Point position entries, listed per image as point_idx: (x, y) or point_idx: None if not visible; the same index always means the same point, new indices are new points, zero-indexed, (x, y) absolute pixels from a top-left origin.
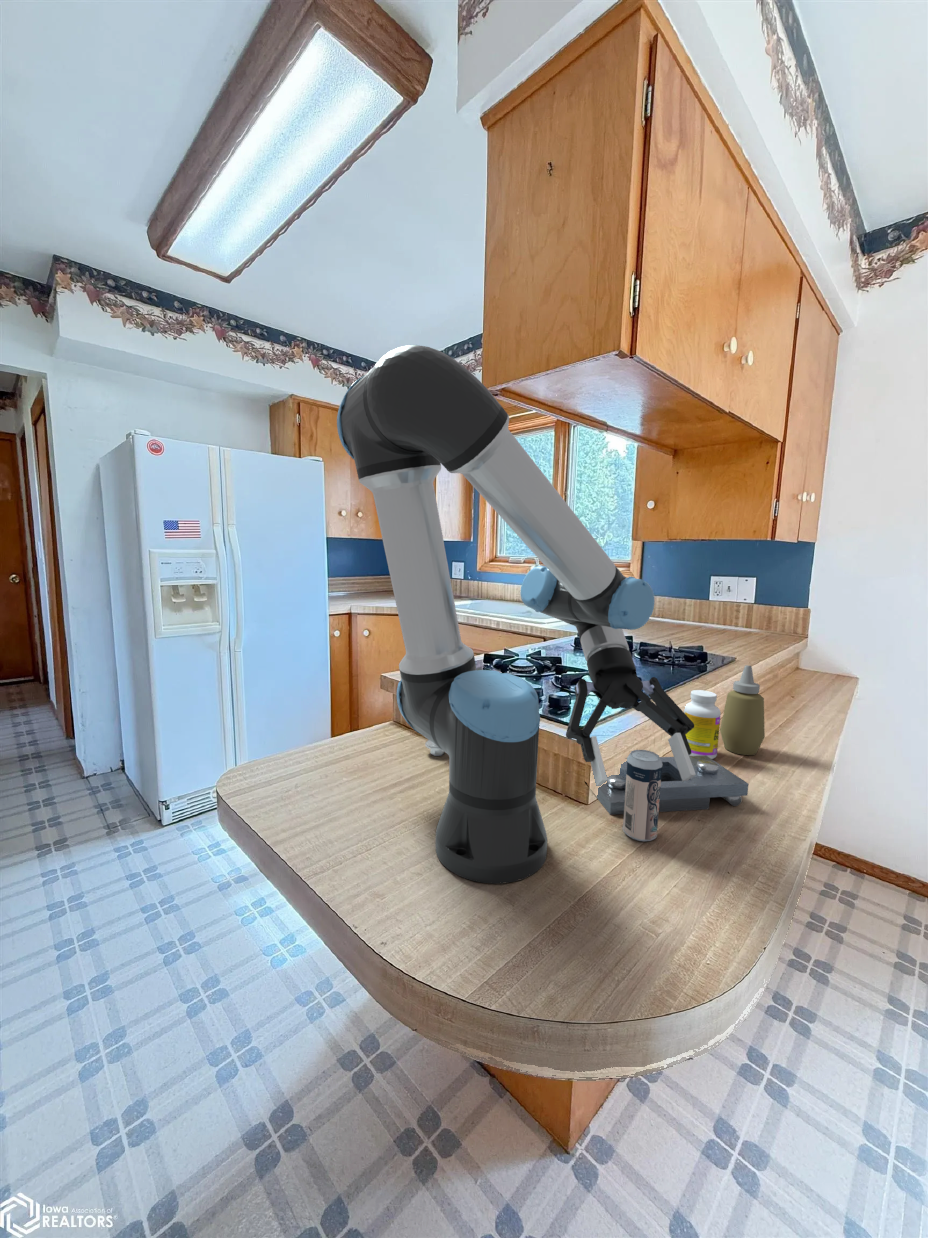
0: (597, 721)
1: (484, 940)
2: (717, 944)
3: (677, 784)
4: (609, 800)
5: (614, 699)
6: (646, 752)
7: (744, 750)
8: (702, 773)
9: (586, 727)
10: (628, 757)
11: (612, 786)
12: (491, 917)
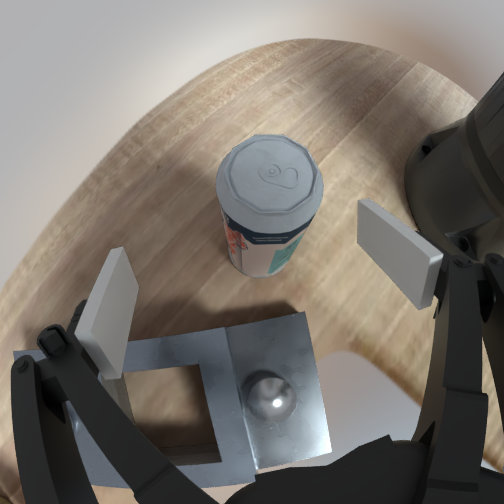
0: (450, 303)
1: (425, 91)
2: (235, 75)
3: (138, 353)
4: (306, 319)
5: (406, 451)
6: (256, 200)
7: (2, 501)
8: (69, 404)
9: (471, 274)
10: (319, 191)
11: (286, 381)
12: (429, 108)
